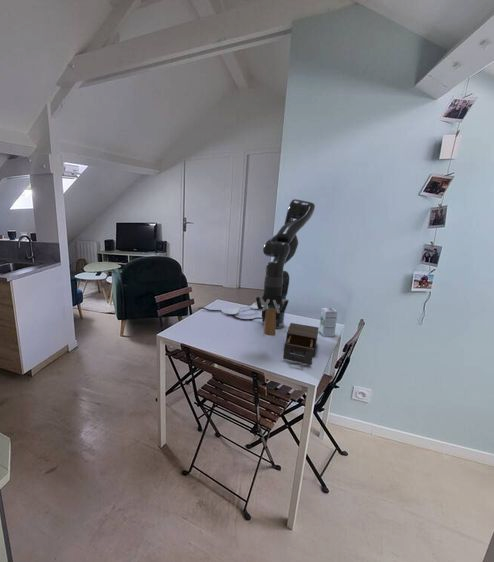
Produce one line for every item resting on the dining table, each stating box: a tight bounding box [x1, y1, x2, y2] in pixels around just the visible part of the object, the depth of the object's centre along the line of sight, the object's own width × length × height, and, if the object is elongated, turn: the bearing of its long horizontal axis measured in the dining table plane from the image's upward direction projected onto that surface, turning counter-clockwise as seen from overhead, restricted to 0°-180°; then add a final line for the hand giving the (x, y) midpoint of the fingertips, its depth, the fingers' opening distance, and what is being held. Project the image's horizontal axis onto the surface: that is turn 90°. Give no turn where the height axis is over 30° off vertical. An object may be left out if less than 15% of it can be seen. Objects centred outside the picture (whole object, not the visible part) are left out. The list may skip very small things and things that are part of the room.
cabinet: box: [285, 322, 320, 357], centre depth 157 cm, size 15×13×10 cm
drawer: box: [282, 335, 314, 366], centre depth 146 cm, size 18×11×8 cm, turn 145°
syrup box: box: [318, 307, 338, 337], centre depth 170 cm, size 6×6×14 cm
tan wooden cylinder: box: [263, 308, 277, 337], centre depth 148 cm, size 5×5×12 cm
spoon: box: [221, 301, 265, 316], centre depth 210 cm, size 9×32×4 cm, turn 110°
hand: (270, 318), depth 148 cm, fingers closed on tan wooden cylinder, 5 cm apart
